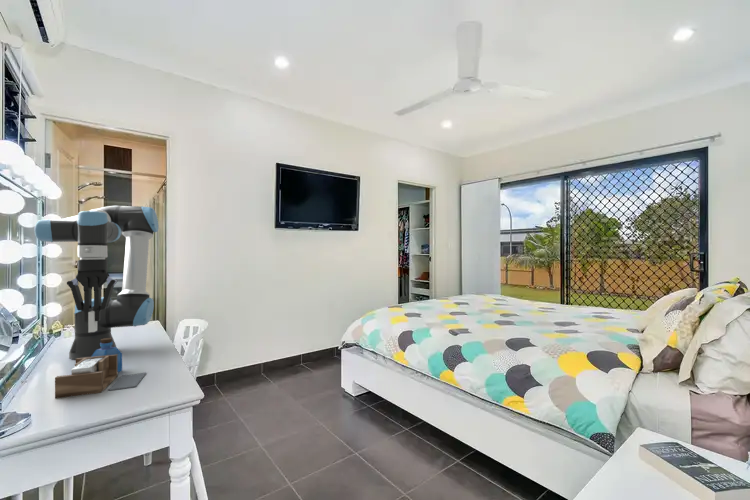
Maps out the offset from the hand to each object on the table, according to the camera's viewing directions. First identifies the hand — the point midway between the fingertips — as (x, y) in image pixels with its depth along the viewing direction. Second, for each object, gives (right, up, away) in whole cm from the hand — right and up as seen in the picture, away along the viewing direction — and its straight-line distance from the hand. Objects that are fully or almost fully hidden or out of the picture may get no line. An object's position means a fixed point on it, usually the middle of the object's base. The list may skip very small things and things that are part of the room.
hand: (92, 331), depth 111 cm
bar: (+2, -13, -4) cm, 13 cm away
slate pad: (+11, -17, +1) cm, 20 cm away
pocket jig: (+2, -17, -4) cm, 17 cm away
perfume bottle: (-2, -17, +9) cm, 19 cm away
